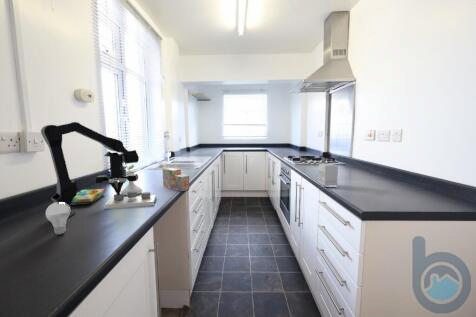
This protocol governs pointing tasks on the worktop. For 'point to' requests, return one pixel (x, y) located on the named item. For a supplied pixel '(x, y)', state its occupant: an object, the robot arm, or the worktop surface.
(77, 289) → the worktop surface
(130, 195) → the button middle
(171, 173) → the stack of blocks
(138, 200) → the button board
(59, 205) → the light bulb
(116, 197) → the button near
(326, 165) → the supplement box
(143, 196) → the button far
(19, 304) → the worktop surface
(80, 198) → the puzzle game
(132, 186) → the flower in vase
